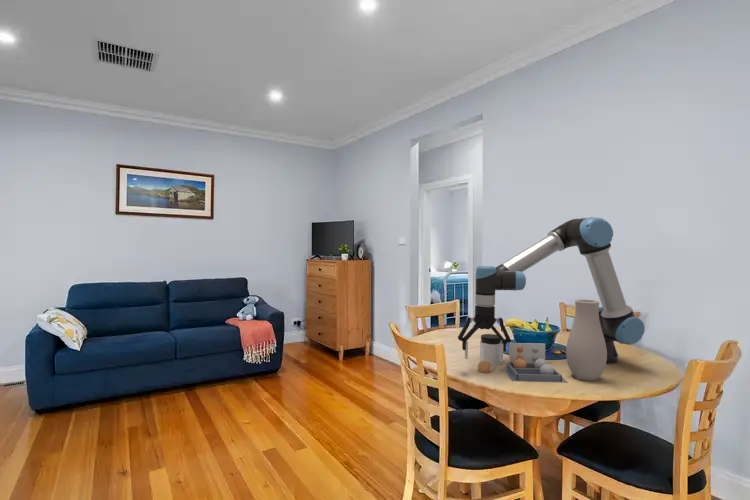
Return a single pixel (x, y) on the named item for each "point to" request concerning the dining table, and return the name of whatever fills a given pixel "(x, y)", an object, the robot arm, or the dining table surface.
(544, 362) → the grey ball
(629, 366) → the dining table surface
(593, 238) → the robot arm
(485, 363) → the ball
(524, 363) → the terracotta ball
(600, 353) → the vase
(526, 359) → the rack
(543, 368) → the grey ball
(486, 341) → the jar
